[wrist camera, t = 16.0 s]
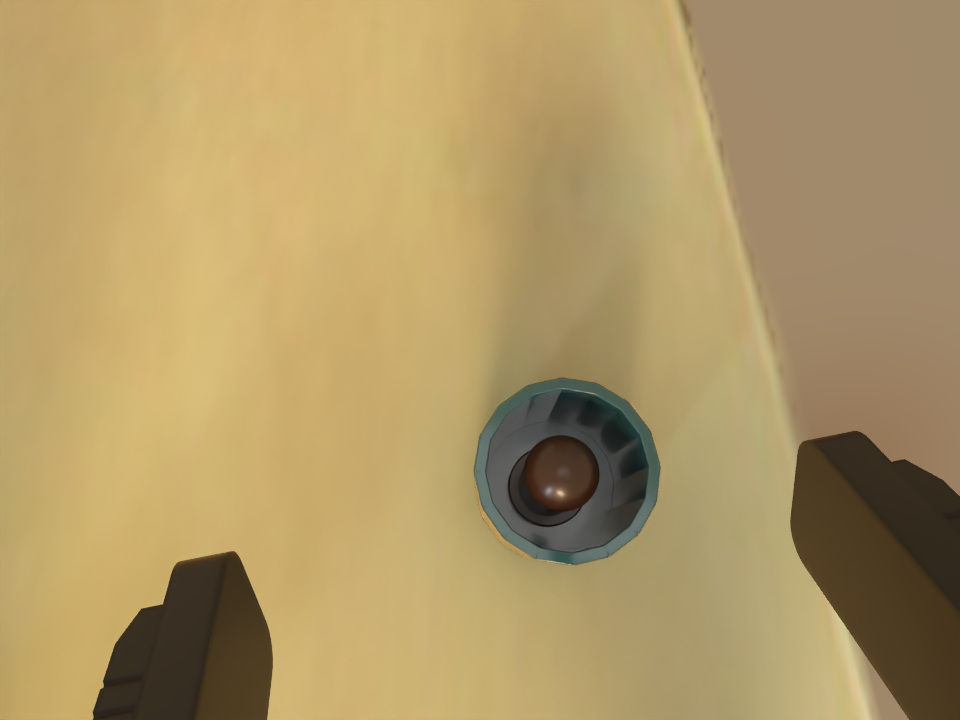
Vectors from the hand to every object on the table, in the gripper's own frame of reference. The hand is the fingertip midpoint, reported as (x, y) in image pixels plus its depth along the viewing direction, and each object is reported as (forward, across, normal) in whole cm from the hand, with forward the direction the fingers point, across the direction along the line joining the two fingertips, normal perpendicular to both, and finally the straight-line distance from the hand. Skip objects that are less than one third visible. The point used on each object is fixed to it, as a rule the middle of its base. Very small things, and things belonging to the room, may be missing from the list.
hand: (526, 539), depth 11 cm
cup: (+23, -4, +19) cm, 30 cm away
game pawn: (+22, -4, +19) cm, 29 cm away
